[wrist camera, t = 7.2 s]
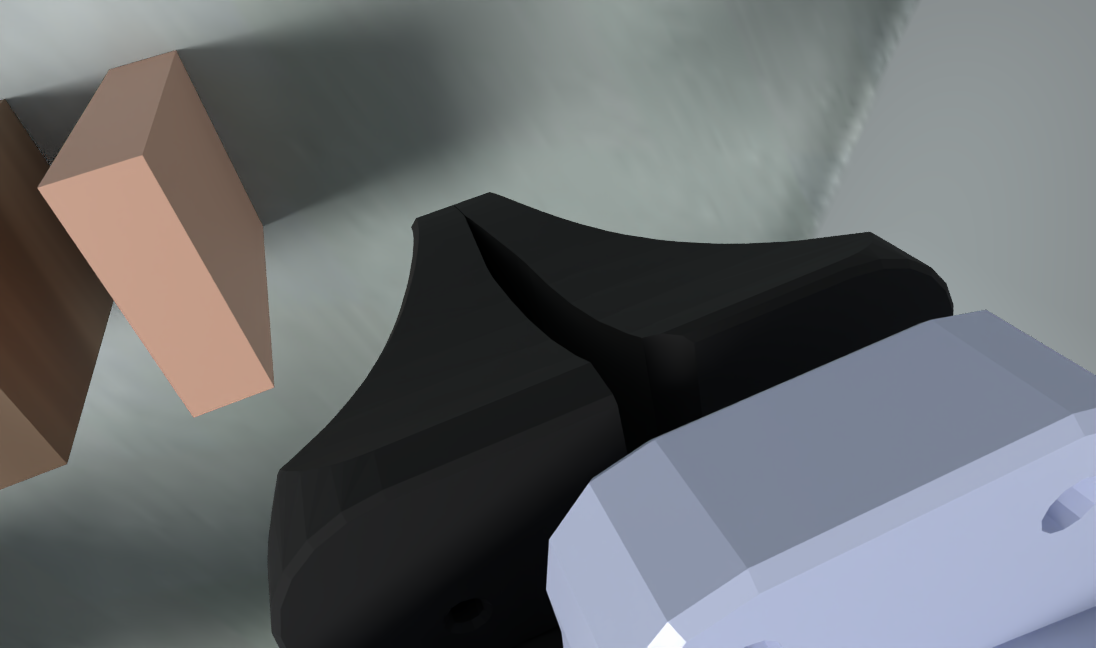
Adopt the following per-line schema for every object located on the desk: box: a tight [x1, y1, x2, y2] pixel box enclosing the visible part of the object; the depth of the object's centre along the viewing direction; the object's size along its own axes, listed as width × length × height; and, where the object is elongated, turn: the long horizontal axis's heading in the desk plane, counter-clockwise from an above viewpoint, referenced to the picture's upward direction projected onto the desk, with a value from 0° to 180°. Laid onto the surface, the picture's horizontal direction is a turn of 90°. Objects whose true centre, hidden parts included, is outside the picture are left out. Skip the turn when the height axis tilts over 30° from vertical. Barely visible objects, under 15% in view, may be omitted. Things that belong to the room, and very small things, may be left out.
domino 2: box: [37, 50, 274, 417], centre depth 16 cm, size 2×5×8 cm, turn 12°
